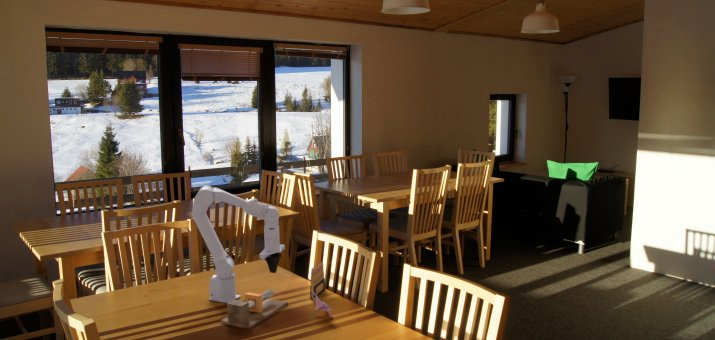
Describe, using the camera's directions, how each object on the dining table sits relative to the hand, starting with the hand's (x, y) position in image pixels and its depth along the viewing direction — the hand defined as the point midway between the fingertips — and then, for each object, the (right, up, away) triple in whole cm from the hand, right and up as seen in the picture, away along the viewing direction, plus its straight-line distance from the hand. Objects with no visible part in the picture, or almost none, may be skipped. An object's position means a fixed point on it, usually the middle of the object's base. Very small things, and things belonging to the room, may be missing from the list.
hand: (273, 272), depth 230 cm
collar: (-4, -11, -17) cm, 21 cm away
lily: (+20, -13, -20) cm, 31 cm away
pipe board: (-4, -12, -16) cm, 21 cm away
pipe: (-4, -9, -16) cm, 19 cm away
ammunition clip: (+17, -9, +2) cm, 20 cm away
